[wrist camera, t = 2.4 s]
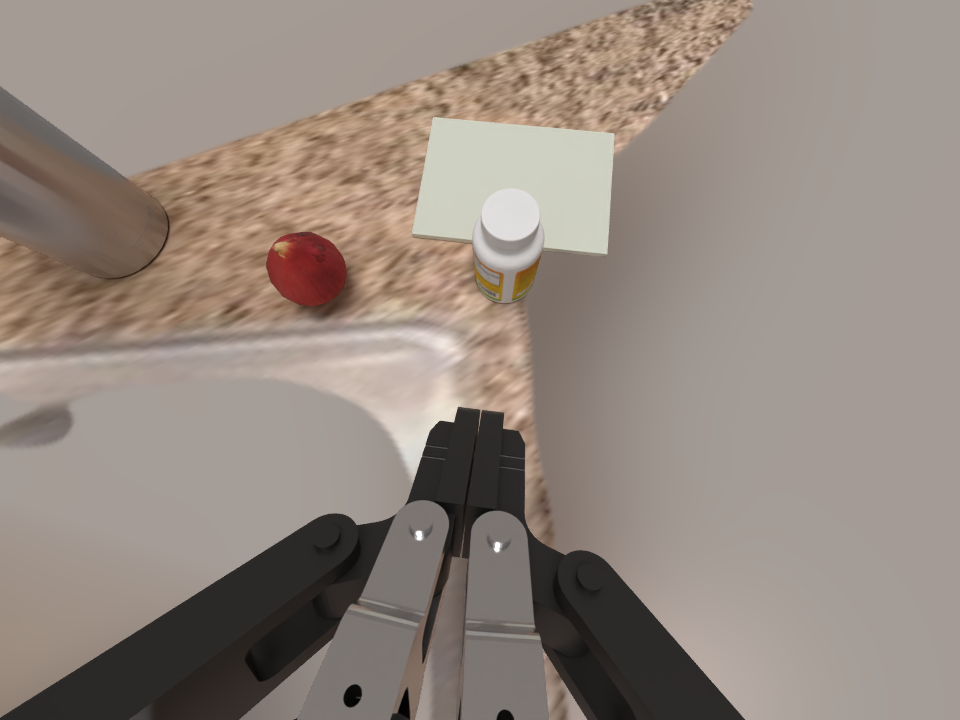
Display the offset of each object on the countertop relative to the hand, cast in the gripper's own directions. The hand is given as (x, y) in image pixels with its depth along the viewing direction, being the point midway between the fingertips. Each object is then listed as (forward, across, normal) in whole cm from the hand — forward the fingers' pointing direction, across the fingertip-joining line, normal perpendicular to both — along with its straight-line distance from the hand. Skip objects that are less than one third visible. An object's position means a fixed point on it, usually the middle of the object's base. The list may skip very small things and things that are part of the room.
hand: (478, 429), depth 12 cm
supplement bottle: (+24, 0, +4) cm, 24 cm away
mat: (+30, 0, -3) cm, 31 cm away
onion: (+22, +16, +6) cm, 28 cm away
